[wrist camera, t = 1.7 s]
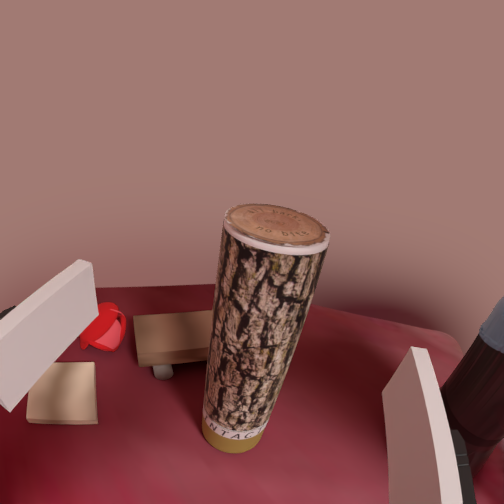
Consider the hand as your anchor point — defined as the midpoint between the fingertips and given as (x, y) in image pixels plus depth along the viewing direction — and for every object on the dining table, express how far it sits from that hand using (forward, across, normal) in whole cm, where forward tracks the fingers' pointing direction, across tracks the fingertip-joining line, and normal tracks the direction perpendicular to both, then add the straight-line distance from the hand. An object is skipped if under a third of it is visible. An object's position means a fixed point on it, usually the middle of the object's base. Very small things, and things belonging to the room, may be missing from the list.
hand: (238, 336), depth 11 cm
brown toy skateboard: (+21, -6, -24) cm, 32 cm away
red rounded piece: (+16, -20, -24) cm, 36 cm away
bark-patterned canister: (+10, 0, -24) cm, 26 cm away
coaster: (+5, -20, -24) cm, 32 cm away
